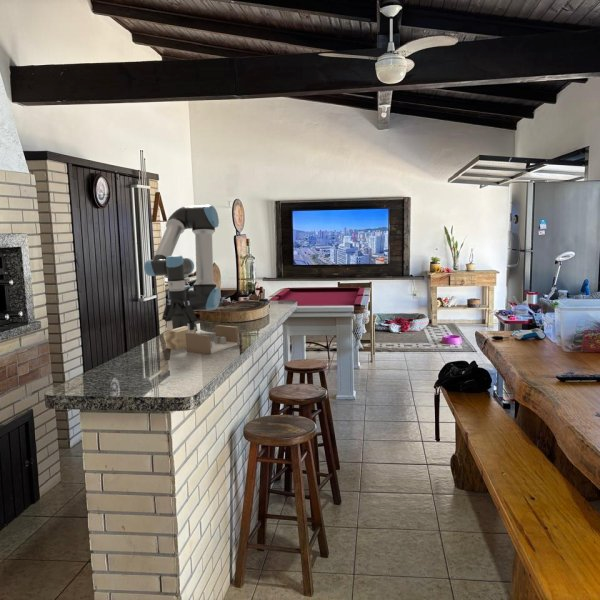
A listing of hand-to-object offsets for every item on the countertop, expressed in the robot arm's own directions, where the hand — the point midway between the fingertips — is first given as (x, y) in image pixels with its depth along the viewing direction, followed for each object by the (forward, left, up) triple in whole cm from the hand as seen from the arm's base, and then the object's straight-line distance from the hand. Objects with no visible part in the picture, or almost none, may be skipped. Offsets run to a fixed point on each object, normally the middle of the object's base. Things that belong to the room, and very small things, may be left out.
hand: (180, 336), depth 259 cm
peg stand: (+17, +3, -5) cm, 18 cm away
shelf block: (0, 0, -5) cm, 5 cm away
